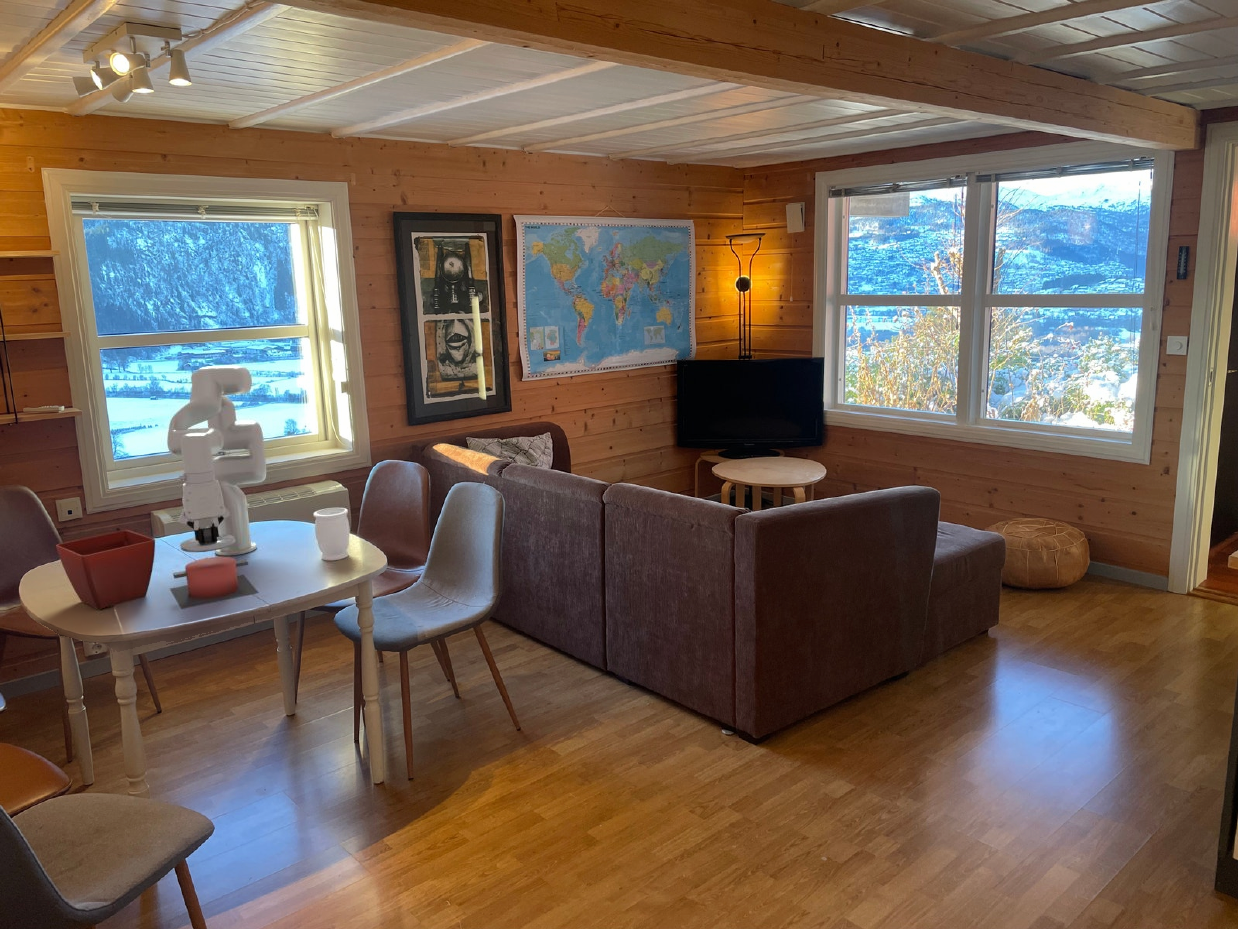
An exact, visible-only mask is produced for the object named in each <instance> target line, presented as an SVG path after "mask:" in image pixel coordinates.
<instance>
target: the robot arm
mask: <svg viewBox="0 0 1238 929" xmlns="http://www.w3.org/2000/svg"><path fill="white" fill-rule="evenodd" d="M190 381H191V392H190V397H189V402H188V403H187V404H185V405H184V406H182V407H181V408H180V409H179V410H178V411H177V412H176V413H175V414H173V416H172V417H171V419H170V421H169V425H168V432H167V440H166V441H167V449H168V451H169V453H170V454H171V455H173V456H175V457H181V458H182V466H183V474H181V475H179V476H178V481H180V482H184V483H182V490H181V491H182V497H181V498H182V511H181V514H180V516H179V517H178V522H179V523H180V524H183V525H187V526H189V528H192V529H193V531H194V532H193V533H194V538H195V540H196V541H198V542H199V543H200V544H202V543H203V542H202V534H201V530H200V528H201V527H200V522H199V521H200V520H206V519H207V520H208V519H211V522H212V523H211V526H212V529H213V537H214V541H217V537H219V534H225V535H231V536H234V537H235V543H234V544H233V545H231V546H229V547H226V548H223V549H219V550H214V552H215V554H216V555H218V556H223V557H230V556H237V555H242V554H247V553H250V552H253V551H255V550H257V543H255V542H254V541H253V542H252V538H251V530H250V522H249V521H250V520H249V513H248V502H247V498H246V497H247V496H246V494H245V493H244V492H243V491H242V489H241V488H239V487H238V486H239V485H247V484H259V483H263V482H264V481H265V480H266V477H267V459H266V452H265V443H264V442H265V441H264V434H263V430H262V427H261V425H260V424H259V423H258V422H257V421H256V420H238V419H237V413H236V406H235V404H234V403H233V401H232V400H231V398H229V397H228V396H231V395H246V394H247V395H248V394H249V392H250V391H251V389H252V387H253V381H252V374H251V373H250V371H249V369H247V368H246V367H244V366H239V365H219V366H218V365H217V366H205V367H204V366H203V367H201V368H198V369H197V370H195V371H193V372H192V373H191V376H190ZM206 421H207V427H205V428H204V427H203V428H191V427H193V426H197V425H198V424H201V423H203V422H206ZM238 451H247V452H248V453H247V454H246V453H245V454H229V455H220V456H215V457H213V455H216V454H218V453H219V452H238Z"/></svg>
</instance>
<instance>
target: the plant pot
mask: <svg viewBox="0 0 1238 929" xmlns="http://www.w3.org/2000/svg"><path fill="white" fill-rule="evenodd" d="M55 547H56V550H57V554H58V556H59V560H60V562H61V564H62V567H63V569H64V571H65V574H66V576H67V578H68V580H69V582H70V584H71V586H72V588H73V590H74V592H75V593H76V595H77V597H78V598H79V600H80V601H81V602H82V601H83V602H82V603H84V602H85V604H86V603H87V605H88V604H89V605H88V606H90V605H91V607H92V606H93V607H92V608H94V607H95V608H94V609H96V608H97V609H96V610H101V609H100V608H104V609H106V608H105V607H108V606H111V607H115V605H119V604H122V603H126V602H131V601H133V600H136V599H140V598H144V597H146V596H147V593H148V590H149V585H150V583H151V577H152V574H153V567H154V560H155V551H156V539H155V538H153V537H149V536H146V535H143V534H140V533H138V532H135V531H132V530H129V529H124V530H119V531H115V532H108V533H104V534H100V535H94V536H90V537H85V538H82V539H76V540H75V539H74V540H71V541H70V540H69V541H66V542H63V543H62V542H61V543H58V544H56V545H55ZM108 608H109V607H108Z"/></svg>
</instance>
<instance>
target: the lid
mask: <svg viewBox="0 0 1238 929" xmlns="http://www.w3.org/2000/svg"><path fill="white" fill-rule="evenodd" d="M200 530H201V534H202V542H203V543H202V544H200V543H199V542H198V541H196V540H195V537H192V538H188V539H186V540H184V541H183V542H181V543H180V545H179V546H180V550H181V551H182V552H187V553H205V552H212V551H214V552H215V550H219V549H223V548H226V547H229V546H231V545H233V544H234V543H235V537H234V536H231V535H225V534H219V537H217V541H214V537H213V529H212V525H207V526H205V525H204V526H201V527H200Z"/></svg>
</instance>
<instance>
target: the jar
mask: <svg viewBox="0 0 1238 929" xmlns="http://www.w3.org/2000/svg"><path fill="white" fill-rule="evenodd" d="M347 515H348V509H347V508H345V507H327V508H323V509H319V510H316V511H314V512H313V517H314V518H315V522H314V531H315V532H314V534H315V537H316V540H317V545H318V548H319V551H320V552H321V556H320V557H321V560H324V561H339V560H343V559H346V558H347V557H348V556H349V552H348V551H347V550H348V548H349V546H350V545H349V544H350V532H351V530H350V522H349V519H348V516H347Z"/></svg>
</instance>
